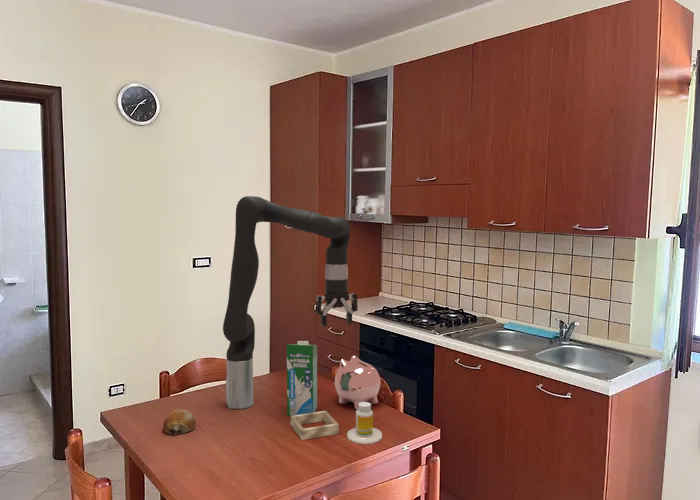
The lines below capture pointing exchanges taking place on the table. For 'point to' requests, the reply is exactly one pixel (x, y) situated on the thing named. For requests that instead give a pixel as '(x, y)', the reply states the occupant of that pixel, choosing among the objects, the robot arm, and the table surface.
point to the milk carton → (301, 378)
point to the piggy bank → (357, 382)
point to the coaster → (371, 439)
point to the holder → (317, 431)
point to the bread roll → (179, 422)
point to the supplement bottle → (364, 420)
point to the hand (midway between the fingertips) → (336, 325)
